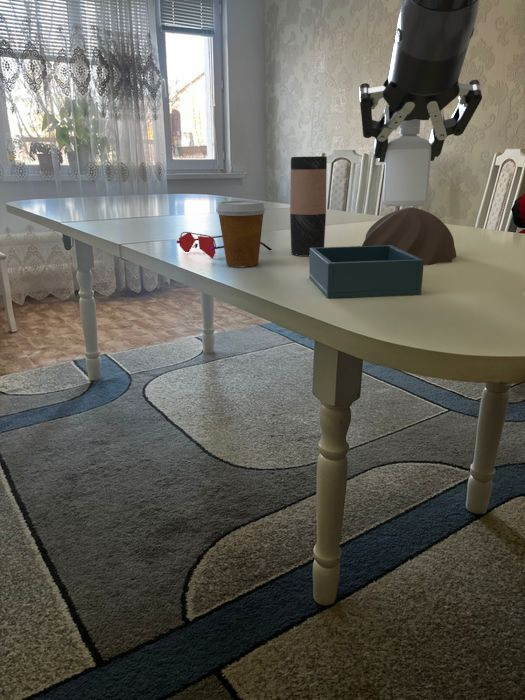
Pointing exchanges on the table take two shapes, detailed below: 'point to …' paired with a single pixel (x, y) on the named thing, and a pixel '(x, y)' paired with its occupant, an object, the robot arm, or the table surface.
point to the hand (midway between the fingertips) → (405, 156)
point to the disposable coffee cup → (241, 231)
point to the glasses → (201, 243)
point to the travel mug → (307, 203)
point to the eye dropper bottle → (407, 167)
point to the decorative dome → (414, 235)
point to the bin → (365, 271)
